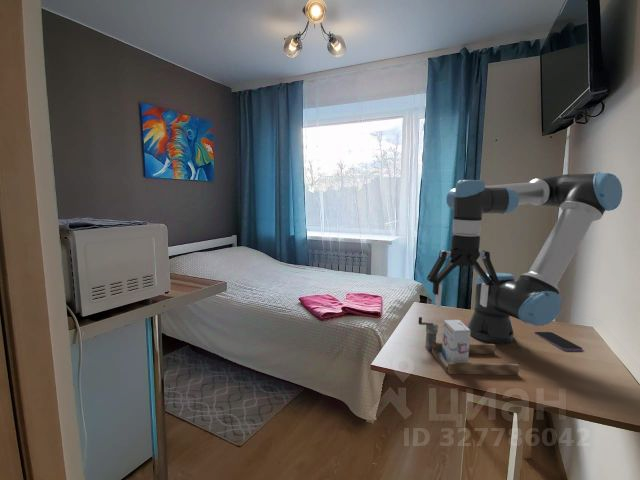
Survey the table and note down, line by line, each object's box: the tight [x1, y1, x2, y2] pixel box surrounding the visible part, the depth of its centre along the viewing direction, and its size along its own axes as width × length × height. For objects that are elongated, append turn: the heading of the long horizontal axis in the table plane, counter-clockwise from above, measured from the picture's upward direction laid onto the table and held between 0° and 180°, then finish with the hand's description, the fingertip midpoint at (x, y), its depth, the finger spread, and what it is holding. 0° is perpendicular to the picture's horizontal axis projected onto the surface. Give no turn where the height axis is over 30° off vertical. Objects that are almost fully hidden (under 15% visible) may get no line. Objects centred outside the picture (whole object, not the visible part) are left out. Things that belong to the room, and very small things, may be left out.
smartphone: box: [534, 331, 584, 352], centre depth 121 cm, size 7×1×15 cm
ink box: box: [441, 319, 471, 363], centre depth 102 cm, size 9×5×12 cm, turn 2°
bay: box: [417, 316, 520, 376], centre depth 104 cm, size 24×17×11 cm
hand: (460, 305), depth 101 cm, fingers open, 13 cm apart
